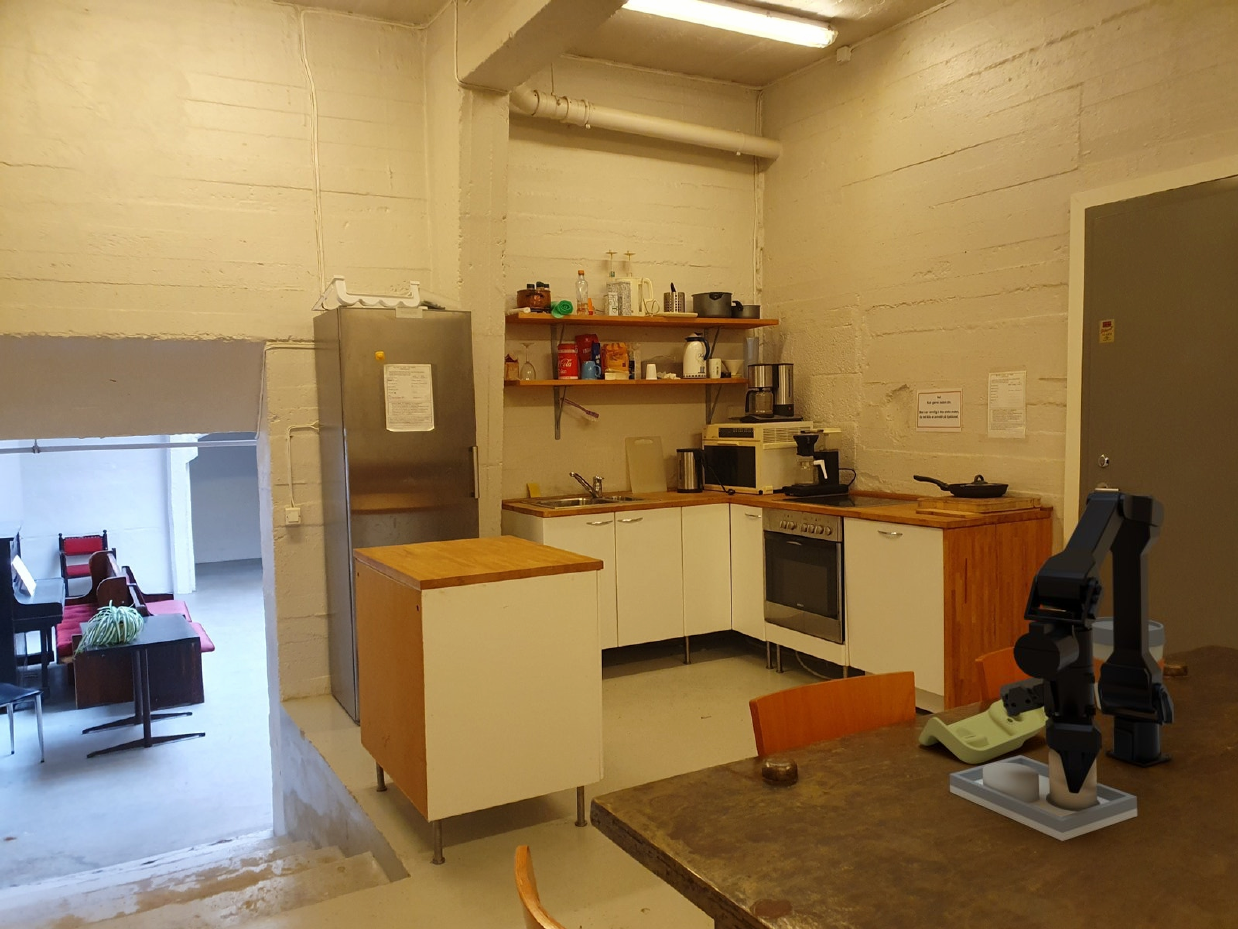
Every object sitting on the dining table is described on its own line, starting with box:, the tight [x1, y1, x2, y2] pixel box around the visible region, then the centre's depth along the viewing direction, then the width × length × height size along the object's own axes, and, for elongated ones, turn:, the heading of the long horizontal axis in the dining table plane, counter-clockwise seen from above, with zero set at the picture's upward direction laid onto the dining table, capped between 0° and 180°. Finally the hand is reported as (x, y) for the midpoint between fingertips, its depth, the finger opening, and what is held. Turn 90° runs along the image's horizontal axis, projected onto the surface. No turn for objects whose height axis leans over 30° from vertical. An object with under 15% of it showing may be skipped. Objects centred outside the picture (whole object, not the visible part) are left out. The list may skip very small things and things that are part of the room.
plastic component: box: [918, 698, 1048, 765], centre depth 146 cm, size 20×7×10 cm
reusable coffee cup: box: [1092, 616, 1167, 710], centre depth 160 cm, size 13×13×15 cm
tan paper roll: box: [1048, 749, 1098, 809], centre depth 120 cm, size 6×6×6 cm
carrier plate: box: [949, 754, 1138, 842], centre depth 122 cm, size 14×18×4 cm
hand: (1072, 779), depth 120 cm, fingers open, 9 cm apart
